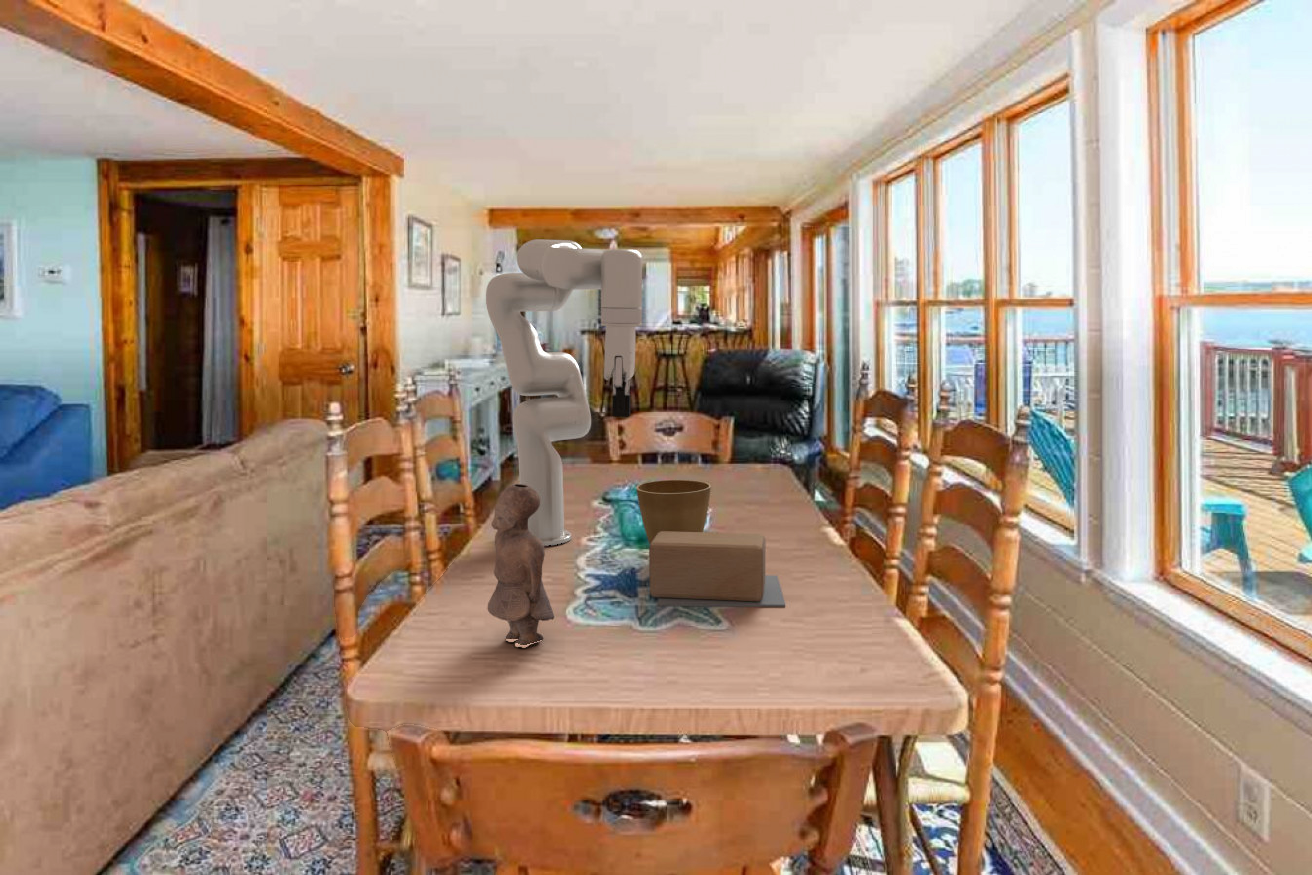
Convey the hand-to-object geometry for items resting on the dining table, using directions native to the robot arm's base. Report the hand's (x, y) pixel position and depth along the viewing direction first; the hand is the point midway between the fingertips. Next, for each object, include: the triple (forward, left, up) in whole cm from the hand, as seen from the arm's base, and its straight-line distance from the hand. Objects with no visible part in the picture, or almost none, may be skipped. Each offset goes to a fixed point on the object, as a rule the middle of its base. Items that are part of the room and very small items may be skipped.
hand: (621, 415), depth 169 cm
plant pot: (+9, +9, -31) cm, 34 cm away
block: (+6, -10, -26) cm, 28 cm away
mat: (+18, -9, -31) cm, 37 cm away
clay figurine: (-13, -35, -31) cm, 49 cm away
